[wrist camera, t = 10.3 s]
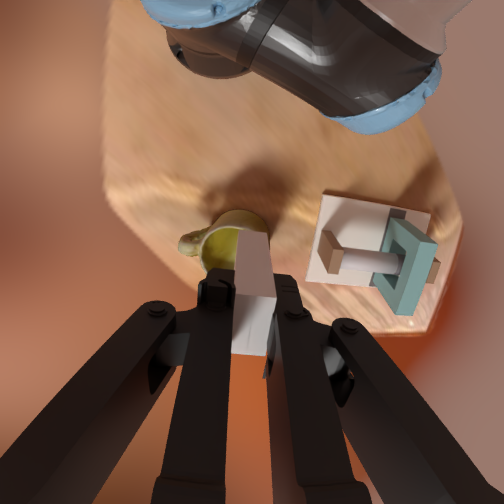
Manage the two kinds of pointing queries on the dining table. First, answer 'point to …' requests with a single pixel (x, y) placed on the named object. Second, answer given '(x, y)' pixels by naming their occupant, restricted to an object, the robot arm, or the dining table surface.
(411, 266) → the collar
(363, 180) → the dining table surface
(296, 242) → the dining table surface
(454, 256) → the dining table surface
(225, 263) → the mug
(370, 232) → the pipe rail
